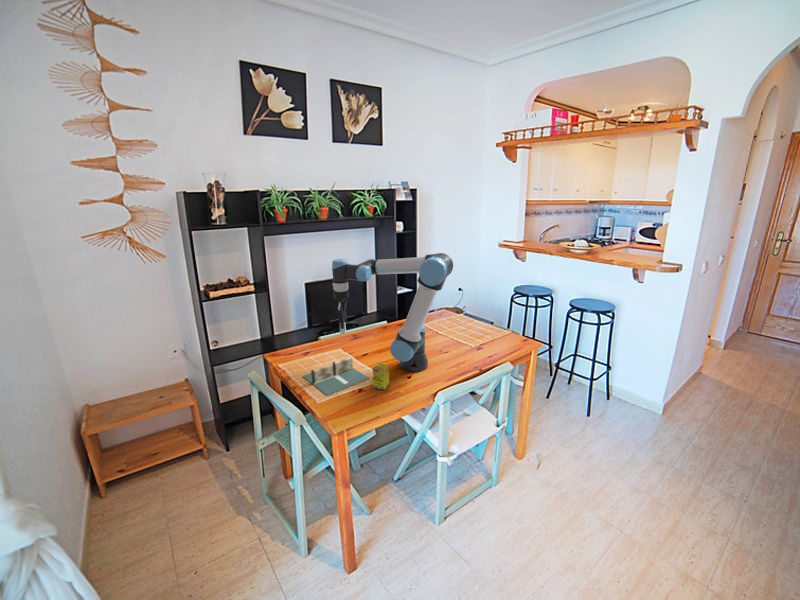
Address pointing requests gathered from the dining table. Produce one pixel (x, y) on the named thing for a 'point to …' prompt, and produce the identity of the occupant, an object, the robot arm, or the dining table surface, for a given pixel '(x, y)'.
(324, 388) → the board
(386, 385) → the supplement box
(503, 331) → the dining table surface
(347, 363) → the hinged gate
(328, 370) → the fixed rail
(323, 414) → the dining table surface
